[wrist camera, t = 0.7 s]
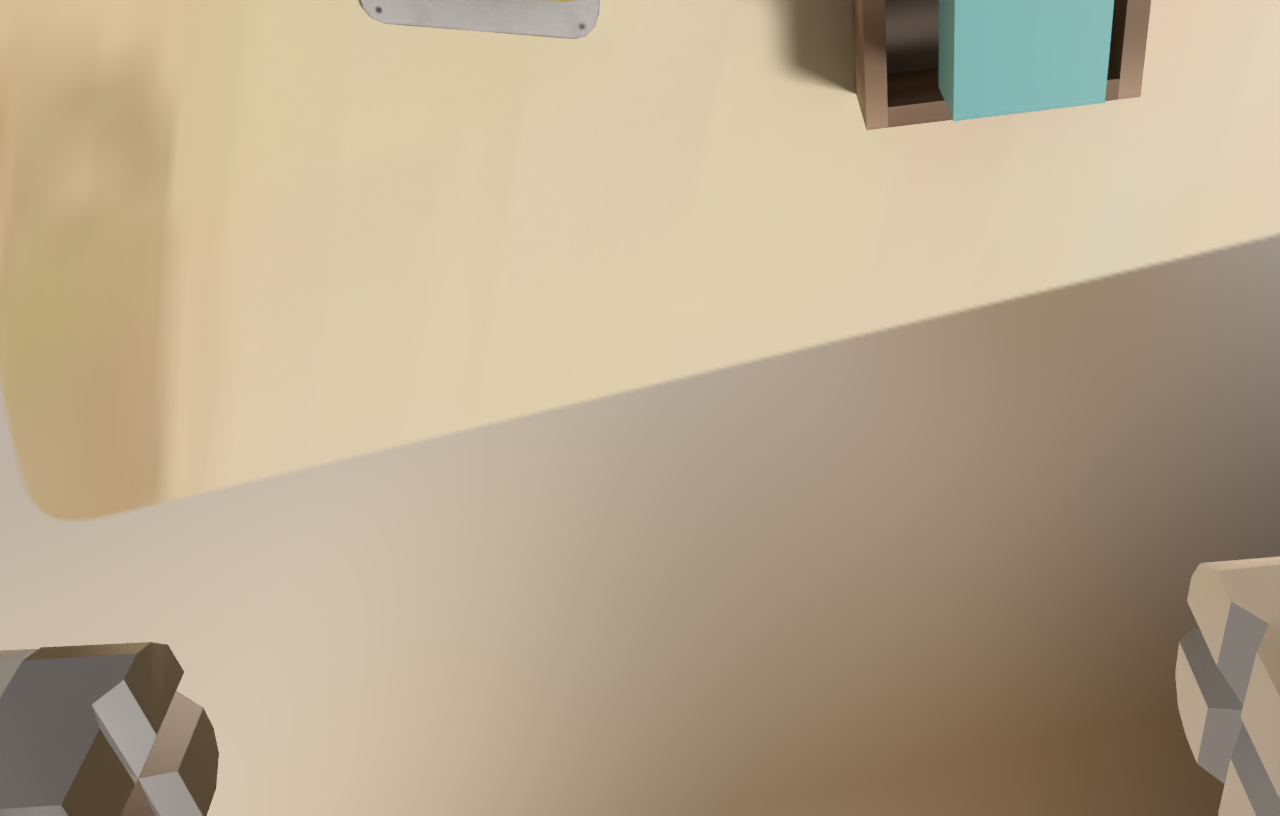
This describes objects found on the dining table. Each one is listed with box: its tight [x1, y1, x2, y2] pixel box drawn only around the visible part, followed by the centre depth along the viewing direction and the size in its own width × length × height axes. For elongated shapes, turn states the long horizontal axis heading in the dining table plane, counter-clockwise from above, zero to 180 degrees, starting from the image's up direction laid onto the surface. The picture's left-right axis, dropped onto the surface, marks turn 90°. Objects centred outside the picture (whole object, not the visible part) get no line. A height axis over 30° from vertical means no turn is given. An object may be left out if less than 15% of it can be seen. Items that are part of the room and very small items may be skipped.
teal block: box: [939, 0, 1114, 121], centre depth 41 cm, size 4×5×4 cm
